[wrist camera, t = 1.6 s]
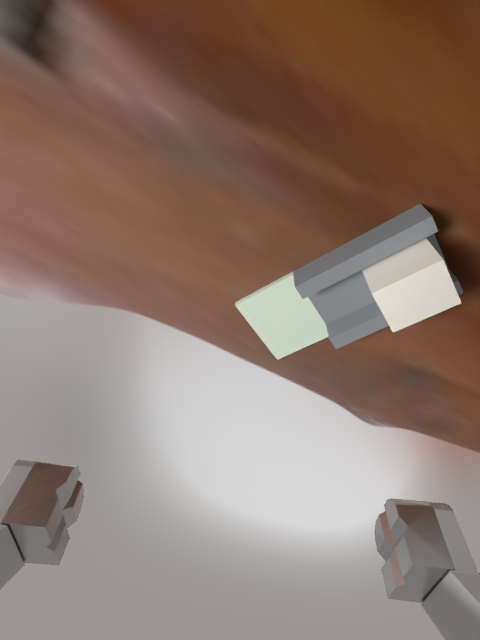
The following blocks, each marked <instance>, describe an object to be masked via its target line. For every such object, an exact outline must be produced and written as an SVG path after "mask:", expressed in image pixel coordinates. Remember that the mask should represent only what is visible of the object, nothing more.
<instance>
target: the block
mask: <svg viewBox="0 0 480 640" xmlns="http://www.w3.org/2000/svg"><path fill="white" fill-rule="evenodd" d="M362 272H363V274H364V277H365V279H366V281H367V284H368V286H369V289H370V291H371V293H372V295H373V297H374V299H375V301H376V303H377V304H378V306H379V308H380V310H381V312H382V313H383V315H384V317H385V319H386V321H387V323H388V324H389V326H390V328H391V330H392V332H396V331H398V330H400V329H403V328H405V327H407V326H410V325H412V324H414V323H417V322H419V321H421V320H424V319H426V318H428V317H431V316H433V315H435V314H438V313H440V312H442V311H444V310H447V309H449V308H451V307H454V306H456V305H458V304H461V301H460V298H459V296H458V293H457V291H456V289H455V286H454V284H453V281H452V279H451V277H450V274H449V272H448V269H447V267H446V265H445V262H444V260H443V259H442V257H441V256H440V255H439V254H438V252H437V251H436V250H435V249H434V247H433V246H432V245H431V244H430V242H429V241H428V240H427V239H426V238H424V239H422V240H420V241H418V242H416V243H414V244H412V245H410V246H408V247H406V248H404V249H402V250H400V251H398V252H396V253H394V254H392V255H390V256H388V257H386V258H384V259H382V260H380V261H378V262H376V263H374V264H372V265H370V266H368V267H366V268H364V269H362Z"/></svg>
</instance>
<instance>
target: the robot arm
mask: <svg viewBox="0 0 480 640" xmlns="http://www.w3.org/2000/svg"><path fill="white" fill-rule="evenodd" d="M79 476H80V471H79V467H78V466H70V465H61V464H51V463H41V462H36V461H25V460H18V461H16V462H15V463H14V464H13V465H12V466H11V468H10V470H9V471H8V473H7V475H6V476H5V478H4V480H3V481H2V483H1V485H0V589H1V588H2V587H3V586H4V585H5V584H6V583H7V582H8V581H9V580H10V579H11V578H12V577H13V576H14V575H15V574H16V573H17V572H18V571H19V570H20V569H21V568H22V567H23V566H24V563H36V564H51V565H59V563H60V561H61V558H62V556H63V554H64V551H65V549H66V546H67V544H68V541H69V539H70V537H69V534H68V530H67V528H68V527H70V526H71V525H72V524H73V523H74V522H75V521H77V518H78V515H79V513H80V510H81V506H82V502H83V498H84V496H83V495H84V489H83V484H82V483H81V482H80V481H78V478H79ZM384 506H385V510H386V511H385V512H384V513H381V514H379V516H378V518H377V520H376V525H375V540H376V545H377V551H378V552H379V553H380V555H381V556H382V557H383V558H384V559H385V564H384V566H383V568H382V573H383V578H384V582H385V587H386V591H387V596H388V598H389V599H396V600H404V601H411V602H419V603H422V604H421V605H422V607H423V608H424V610H425V611H426V613H427V614H428V615H429V617H430V618H431V620H432V621H433V623H434V624H435V625H436V627H437V629H438V630H439V631H440V633H441V634H442V636H443V637H444V639H445V640H480V573H478V571H477V569H476V566H475V564H474V561H473V559H472V556H471V554H470V551H469V549H468V546H467V544H466V541H465V539H464V536H463V534H462V532H461V529H460V527H459V524H458V522H457V519H456V517H455V514H454V512H453V509H452V508H451V507H450V506H449V505H447V504H442V503H432V502H426V501H413V500H402V499H388V500H387V502H386V503H385V505H384Z"/></svg>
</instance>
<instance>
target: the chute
mask: <svg viewBox="0 0 480 640" xmlns="http://www.w3.org/2000/svg"><path fill="white" fill-rule="evenodd" d="M436 232H438V229H437V227H436V224H435V222H434V219H433V217H432V215H431V214H430V213H429V212H428V211H427V210H426V209H425V208H424V207H423V206H422V205H421V204H418V205H417V206H415V207H413V208H411V209H409V210H407V211H405V212H403V213H402V214H400V215H398V216H396V217H394V218H392V219H390V220H389V221H387V222H385V223H383V224H381V225H379V226H377V227H375V228H374V229H372V230H370V231H368V232H366V233H364V234H362V235H360V236H359V237H357V238H355V239H353V240H351V241H349V242H347V243H345V244H344V245H342V246H340V247H338V248H336V249H334V250H332V251H330V252H329V253H327V254H325V255H323V256H321V257H319V258H317V259H315V260H314V261H312V262H310V263H308V264H306V265H304V266H302V267H300V268H299V269H297V270H295V271H293V272H291V273H289V274H287V275H285V276H284V277H282V278H280V279H278V280H276V281H274V282H272V283H271V284H269V285H267V286H265V287H263V288H261V289H259V290H257V291H256V292H254V293H252V294H250V295H248V296H246V297H244V298H242V299H241V300H239V301H237V302H235V306H236V307H237V308H238V310H239V311H240V312H241V314H242V315H243V316H244V318H245V319H246V320H247V321H248V323H249V324H250V325H251V327H252V328H253V329H254V330H255V332H256V333H257V334H258V336H259V337H260V338H261V339H262V341H263V342H264V343H265V345H266V346H267V347H268V348H269V350H270V351H271V352H272V354H273V355H274V356H275V357H276V359H277V360H278V359H280V358H282V357H285V356H287V355H289V354H291V353H293V352H296V351H298V350H300V349H302V348H304V347H307V346H309V345H311V344H313V343H315V342H318V341H320V340H322V339H324V338H326V337H329V339H330V341H331V342H332V344H333V345H334V347H335V348H336V349H337V348H340V347H342V346H344V345H346V344H349V343H351V342H353V341H356V340H358V339H360V338H362V337H365V336H367V335H369V334H371V333H374V332H376V331H378V330H381V329H383V328H385V327H387V326H389V324H388V323H387V321H386V319H385V317H384V315H383V313H382V312H381V310H380V308H379V306H378V304H377V303H376V301H375V299H374V297H373V295H372V293H371V291H370V289H369V286H368V284H367V281H366V279H365V277H364V274H363V272H362V269H364V268H366V267H368V266H370V265H372V264H374V263H376V262H378V261H380V260H382V259H384V258H386V257H388V256H390V255H392V254H394V253H396V252H398V251H400V250H402V249H404V248H406V247H408V246H410V245H412V244H414V243H416V242H418V241H420V240H422V239H424V238H426V239H427V240H428V241H429V242H430V244H431V245H432V246H433V247H434V249H435V250H436V251H437V252H438V254H439V255H440V256H441V257H442V259H443V260H444V262H445V265H446V267H447V269H448V272H449V274H450V277H451V279H452V281H453V284H454V286H455V289H456V291H457V293H458V295H460V294H463V290H462V288H461V285H460V283H459V280H458V279H457V278H456V277H455V275H454V274H453V273H452V272H451V270H450V269H449V268H448V266H447V263H446V261H445V258H444V256H443V254H442V251H441V249H440V246H439V244H438V242H437V239H436V237H435V234H434V233H436Z"/></svg>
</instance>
